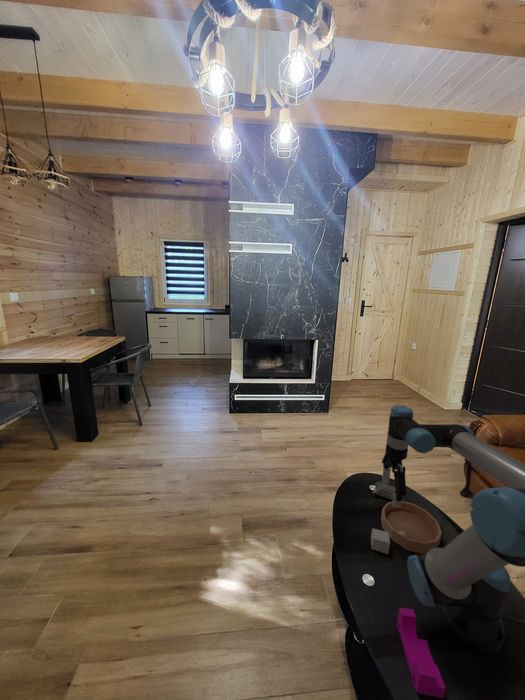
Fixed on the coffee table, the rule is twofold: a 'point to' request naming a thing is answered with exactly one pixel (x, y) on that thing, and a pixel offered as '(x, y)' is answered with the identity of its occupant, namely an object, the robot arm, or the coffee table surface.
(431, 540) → the bowl
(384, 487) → the packaged food
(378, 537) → the grey cube
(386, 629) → the coffee table surface
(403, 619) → the toy block
